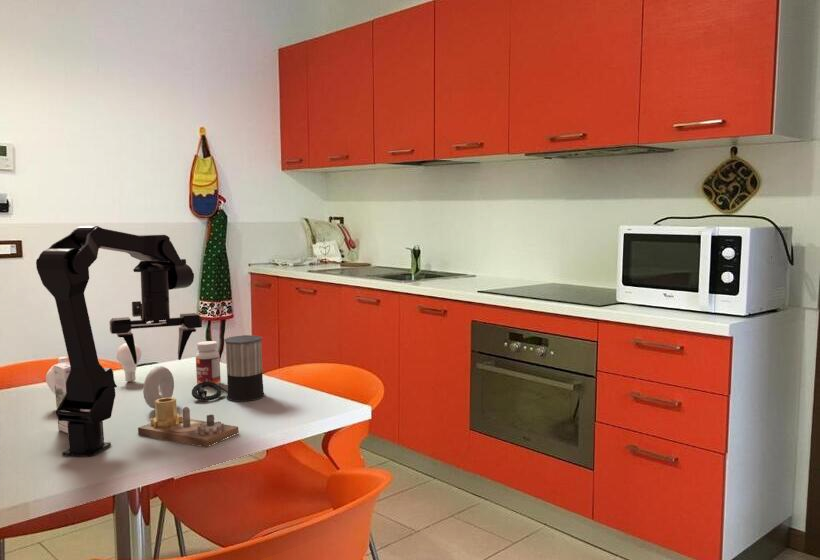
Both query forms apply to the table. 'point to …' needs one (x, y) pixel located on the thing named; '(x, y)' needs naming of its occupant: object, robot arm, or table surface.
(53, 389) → the spinning top
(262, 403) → the table surface
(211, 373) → the pill bottle
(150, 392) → the donut
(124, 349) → the lightbulb
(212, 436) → the board
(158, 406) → the brass gear
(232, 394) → the milk frother
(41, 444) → the table surface
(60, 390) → the syrup box
